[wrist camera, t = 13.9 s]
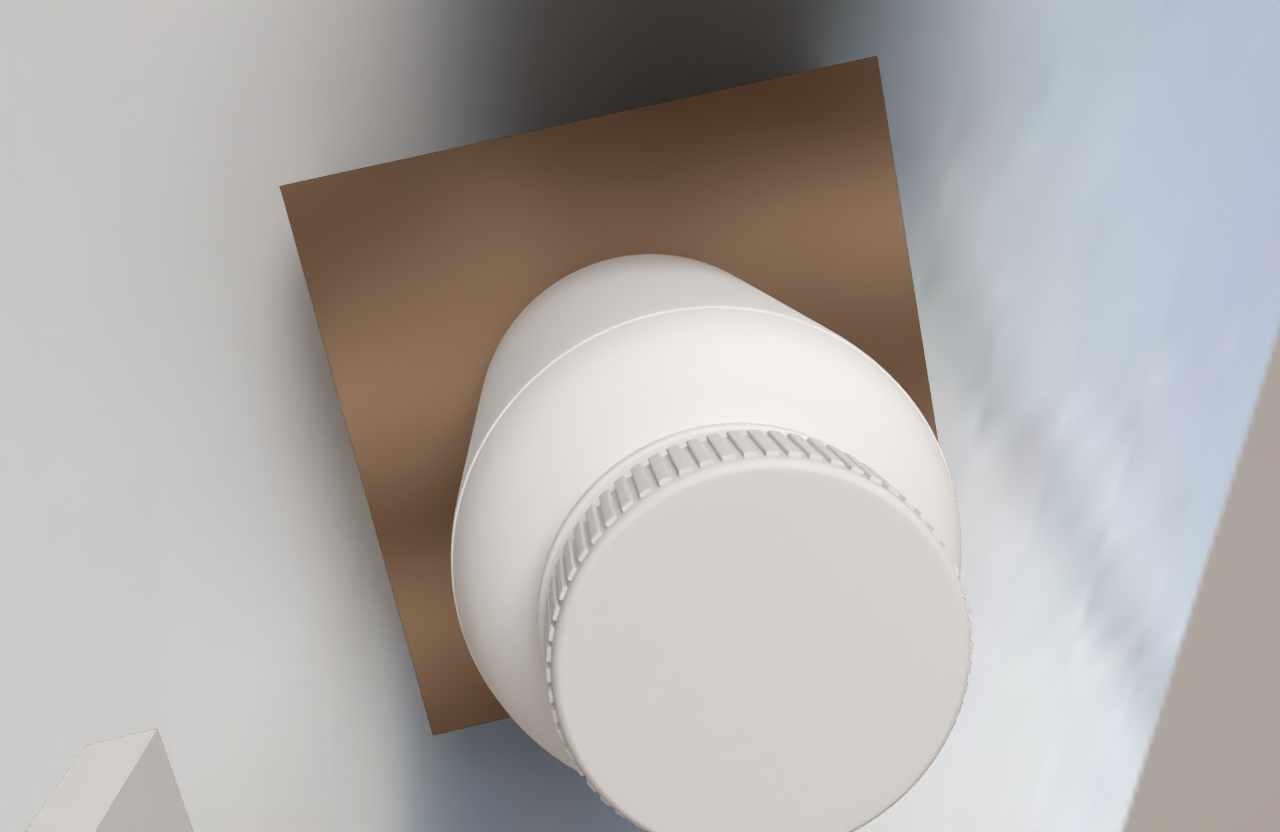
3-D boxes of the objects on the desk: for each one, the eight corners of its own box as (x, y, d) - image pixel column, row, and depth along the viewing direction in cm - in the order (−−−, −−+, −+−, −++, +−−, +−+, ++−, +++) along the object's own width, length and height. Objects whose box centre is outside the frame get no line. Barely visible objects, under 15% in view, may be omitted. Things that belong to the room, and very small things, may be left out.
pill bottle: (796, 230, 28) (1079, 319, 14) (813, 550, 30) (1080, 927, 16) (460, 261, 28) (386, 387, 13) (498, 585, 30) (468, 1010, 15)
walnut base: (317, 180, 32) (279, 186, 27) (824, 69, 32) (877, 56, 28) (446, 654, 35) (432, 735, 30) (905, 546, 36) (964, 608, 31)
